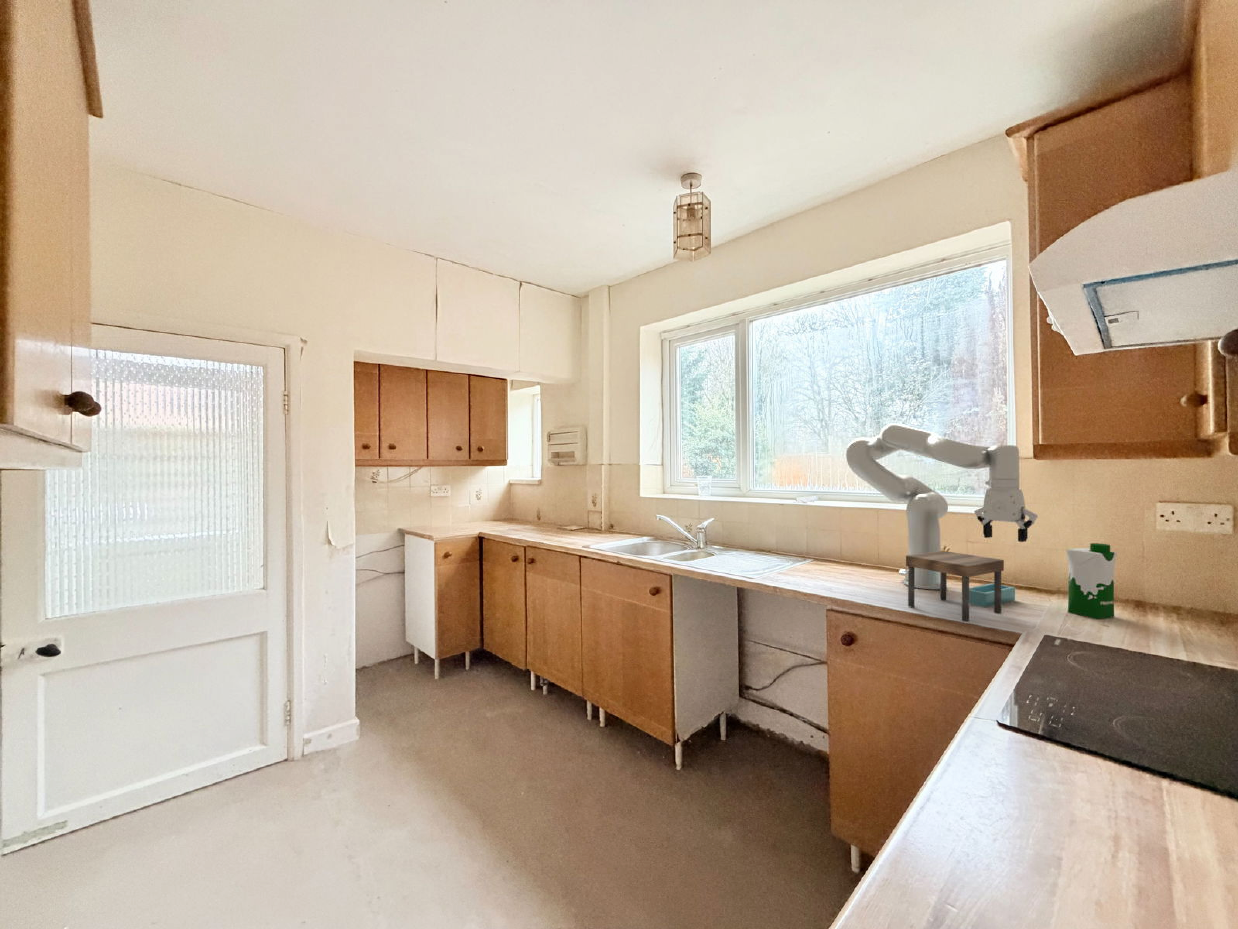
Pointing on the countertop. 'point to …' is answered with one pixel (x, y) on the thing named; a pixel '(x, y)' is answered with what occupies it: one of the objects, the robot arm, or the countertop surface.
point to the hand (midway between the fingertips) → (1004, 539)
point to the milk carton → (1091, 581)
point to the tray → (990, 595)
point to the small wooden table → (956, 573)
